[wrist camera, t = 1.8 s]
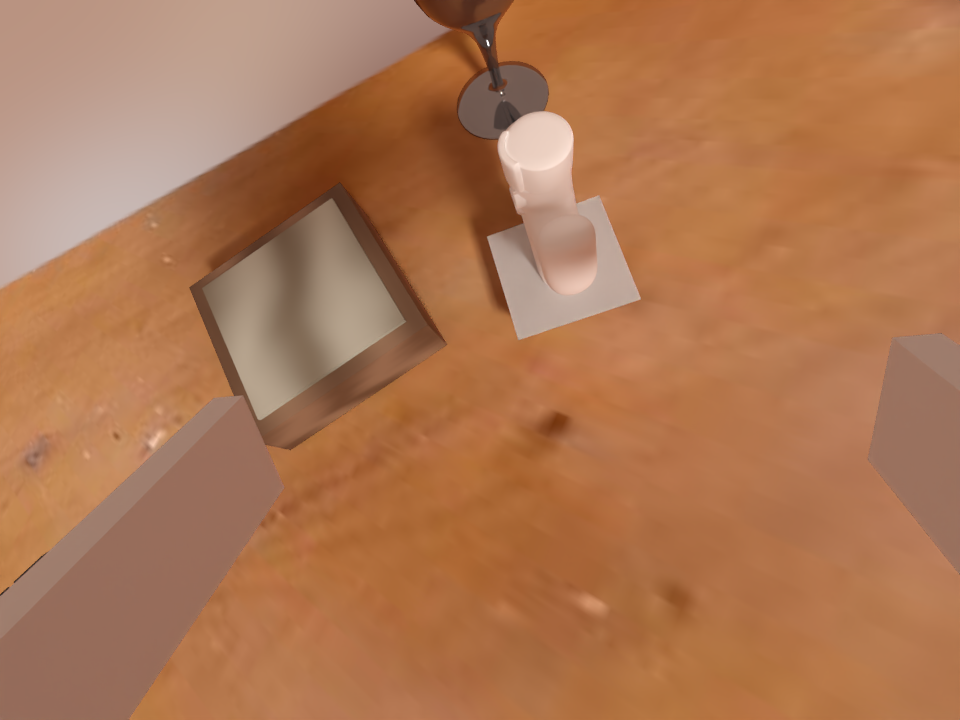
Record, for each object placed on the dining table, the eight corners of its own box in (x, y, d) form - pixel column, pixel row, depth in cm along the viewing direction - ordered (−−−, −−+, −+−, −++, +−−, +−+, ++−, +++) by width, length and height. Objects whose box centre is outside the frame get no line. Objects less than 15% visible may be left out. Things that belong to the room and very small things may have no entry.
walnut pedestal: (365, 213, 40) (337, 179, 36) (447, 344, 35) (425, 323, 31) (228, 308, 41) (186, 285, 37) (290, 449, 36) (250, 441, 32)
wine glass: (573, 106, 38) (551, -129, 24) (479, 162, 39) (404, -36, 25) (523, 40, 41) (477, -206, 27) (436, 93, 42) (347, -120, 28)
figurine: (595, 212, 35) (583, 16, 21) (644, 337, 32) (668, 202, 18) (494, 249, 36) (421, 84, 22) (532, 373, 33) (475, 271, 19)
